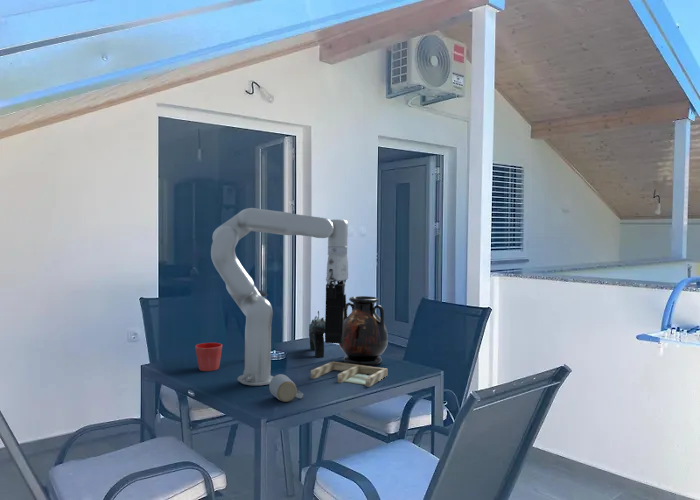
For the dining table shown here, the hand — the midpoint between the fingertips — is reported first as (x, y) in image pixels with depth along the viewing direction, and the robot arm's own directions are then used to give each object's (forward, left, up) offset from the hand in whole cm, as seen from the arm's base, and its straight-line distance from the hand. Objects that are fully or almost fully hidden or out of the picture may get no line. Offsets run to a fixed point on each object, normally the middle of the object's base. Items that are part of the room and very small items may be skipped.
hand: (336, 297), depth 221 cm
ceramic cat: (+31, +26, -31) cm, 51 cm away
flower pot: (-16, +49, -31) cm, 60 cm away
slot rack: (0, -6, -31) cm, 31 cm away
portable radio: (0, 0, -18) cm, 18 cm away
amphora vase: (+26, 0, -31) cm, 41 cm away
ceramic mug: (-35, 0, -31) cm, 47 cm away
